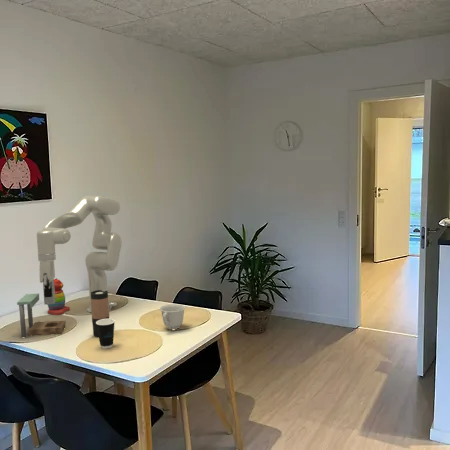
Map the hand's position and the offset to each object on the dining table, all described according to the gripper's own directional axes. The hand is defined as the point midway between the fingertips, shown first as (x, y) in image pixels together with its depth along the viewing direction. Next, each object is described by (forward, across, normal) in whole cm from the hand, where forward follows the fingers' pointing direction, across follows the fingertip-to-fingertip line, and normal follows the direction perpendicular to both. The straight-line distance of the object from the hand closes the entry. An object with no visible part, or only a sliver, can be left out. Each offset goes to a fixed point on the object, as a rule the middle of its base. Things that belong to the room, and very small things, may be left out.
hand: (49, 295), depth 218 cm
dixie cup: (+18, +25, +28) cm, 41 cm away
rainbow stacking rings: (+17, -31, -4) cm, 36 cm away
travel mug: (+17, +10, +24) cm, 31 cm away
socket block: (+17, 0, -2) cm, 17 cm away
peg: (+4, 0, 0) cm, 4 cm away
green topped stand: (+17, 0, -9) cm, 19 cm away
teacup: (+17, +9, +56) cm, 59 cm away
